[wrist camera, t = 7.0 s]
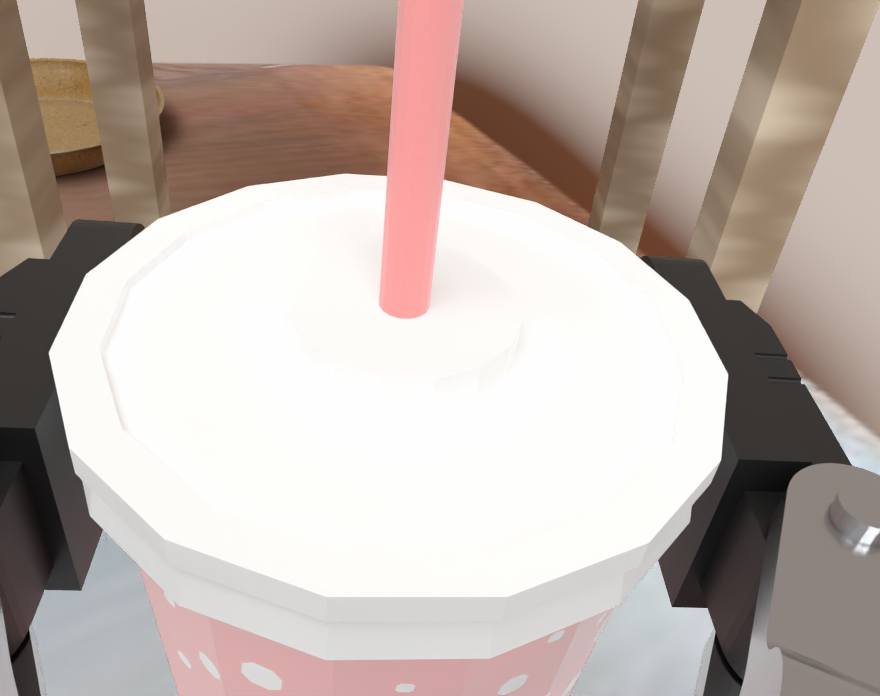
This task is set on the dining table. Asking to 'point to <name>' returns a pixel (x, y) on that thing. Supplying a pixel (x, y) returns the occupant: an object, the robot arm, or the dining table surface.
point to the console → (625, 158)
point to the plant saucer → (70, 113)
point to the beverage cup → (386, 421)
